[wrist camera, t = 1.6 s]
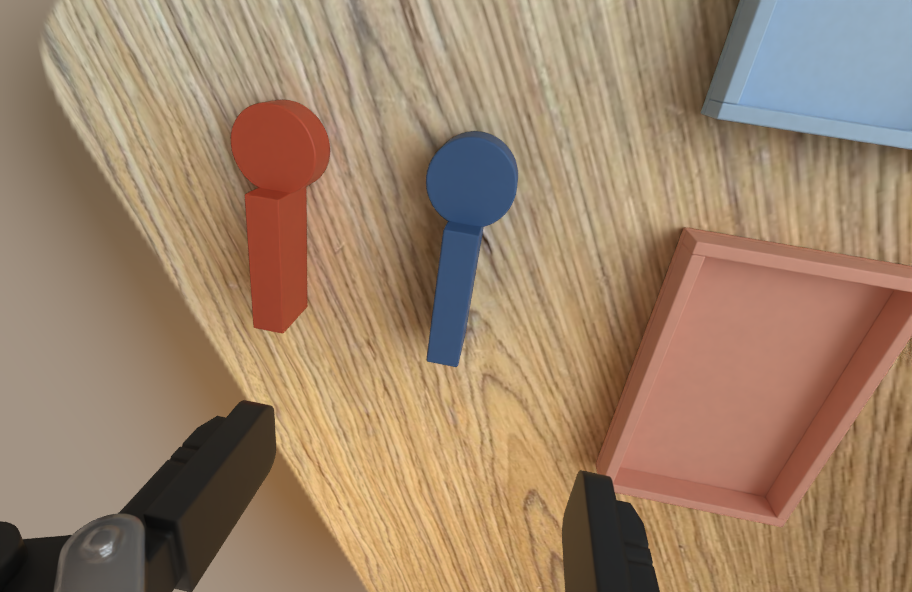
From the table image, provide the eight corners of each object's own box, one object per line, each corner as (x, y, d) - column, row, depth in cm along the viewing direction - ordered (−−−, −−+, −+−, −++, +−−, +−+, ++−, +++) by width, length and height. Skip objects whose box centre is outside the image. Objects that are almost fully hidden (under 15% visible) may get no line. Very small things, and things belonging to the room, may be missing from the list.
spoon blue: (486, 340, 26) (481, 372, 24) (415, 327, 27) (402, 357, 24) (525, 138, 21) (525, 150, 19) (438, 124, 22) (425, 133, 19)
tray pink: (767, 498, 28) (782, 527, 27) (595, 463, 29) (599, 489, 27) (913, 266, 21) (947, 284, 20) (683, 226, 22) (696, 241, 20)
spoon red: (328, 310, 27) (306, 338, 24) (260, 297, 27) (230, 323, 24) (331, 106, 22) (303, 113, 19) (247, 93, 22) (209, 97, 20)
